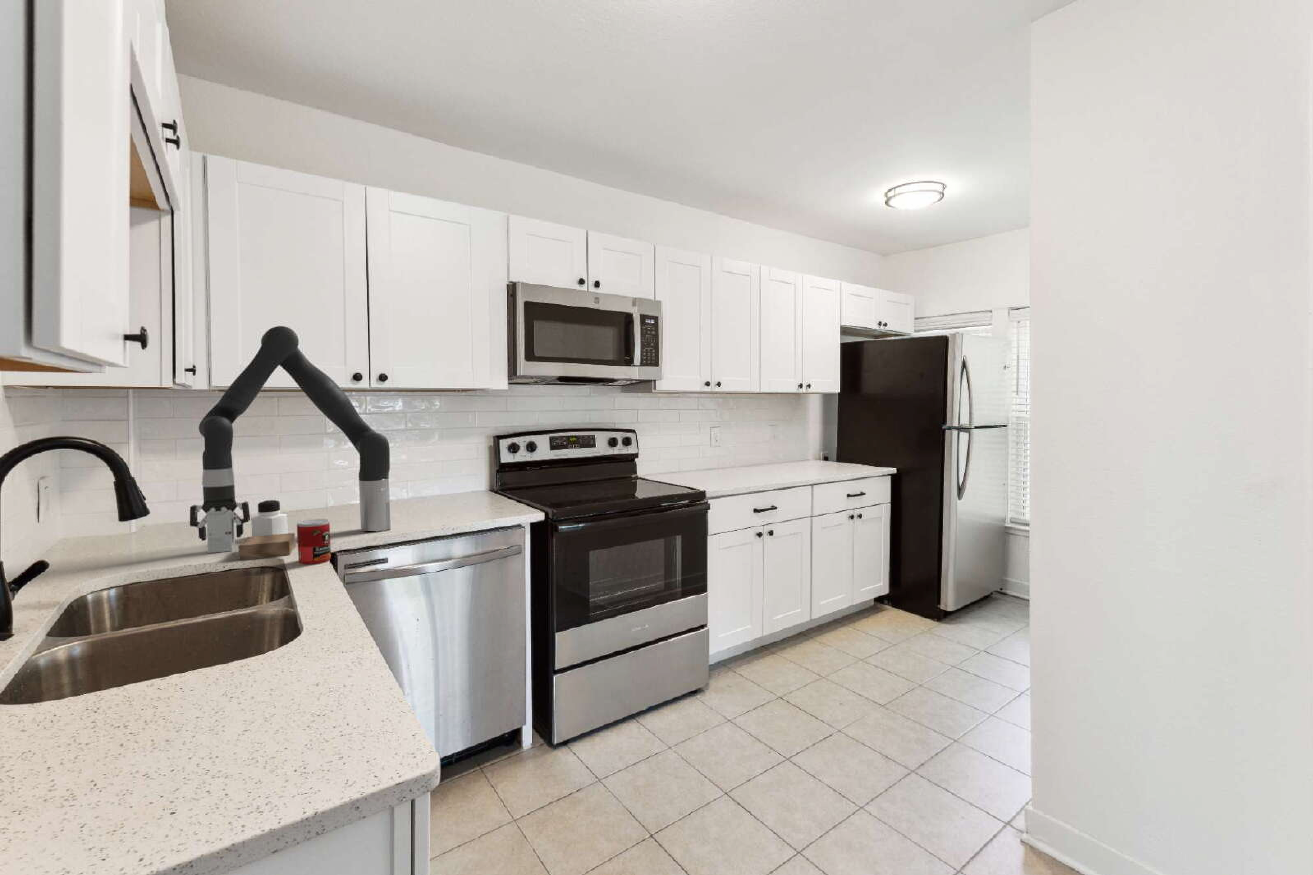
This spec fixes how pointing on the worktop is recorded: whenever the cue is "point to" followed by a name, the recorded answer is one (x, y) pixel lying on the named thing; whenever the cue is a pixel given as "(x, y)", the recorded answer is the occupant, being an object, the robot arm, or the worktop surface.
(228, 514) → the skincare box
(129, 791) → the worktop surface
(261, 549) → the walnut base
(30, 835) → the worktop surface
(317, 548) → the canned food
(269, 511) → the medicine bottle
